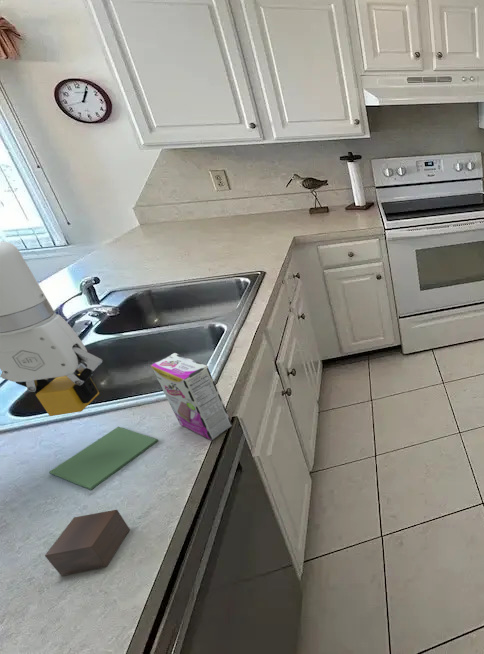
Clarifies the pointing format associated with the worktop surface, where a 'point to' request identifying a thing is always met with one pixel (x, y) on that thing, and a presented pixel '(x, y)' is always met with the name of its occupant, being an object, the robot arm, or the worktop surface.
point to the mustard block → (61, 397)
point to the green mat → (103, 457)
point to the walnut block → (88, 542)
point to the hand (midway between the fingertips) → (72, 399)
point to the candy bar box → (192, 395)
